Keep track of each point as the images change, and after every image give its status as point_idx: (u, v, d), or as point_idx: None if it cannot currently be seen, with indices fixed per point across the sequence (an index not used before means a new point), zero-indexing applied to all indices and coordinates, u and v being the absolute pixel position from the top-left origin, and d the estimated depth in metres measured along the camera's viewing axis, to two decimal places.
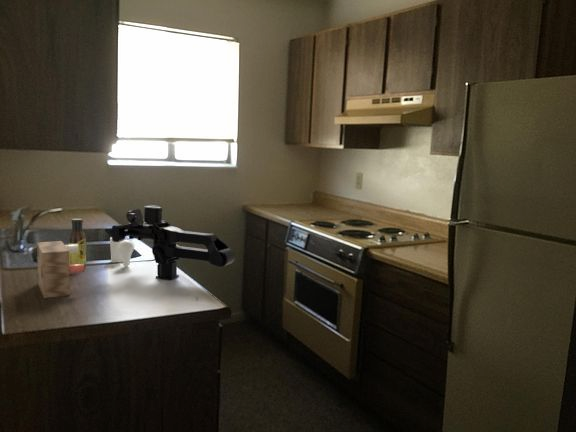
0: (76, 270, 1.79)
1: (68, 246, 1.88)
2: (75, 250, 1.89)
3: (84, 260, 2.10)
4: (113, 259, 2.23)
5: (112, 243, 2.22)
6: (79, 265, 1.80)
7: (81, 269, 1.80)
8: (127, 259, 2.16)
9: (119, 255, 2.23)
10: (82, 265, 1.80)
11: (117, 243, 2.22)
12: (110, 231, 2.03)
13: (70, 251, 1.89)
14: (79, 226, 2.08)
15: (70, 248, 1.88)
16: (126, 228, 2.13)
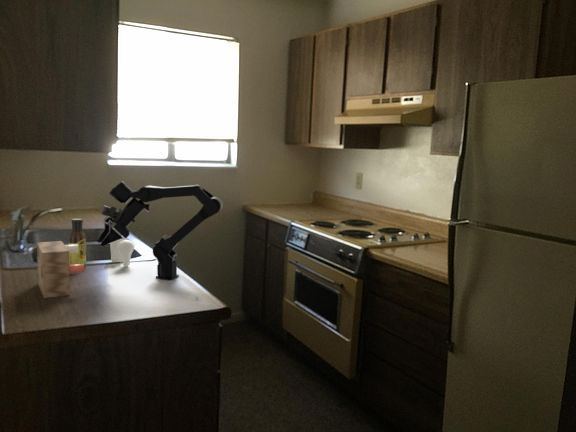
0: (76, 270, 1.79)
1: (68, 246, 1.88)
2: (75, 250, 1.89)
3: (84, 260, 2.10)
4: (113, 259, 2.23)
5: (112, 243, 2.22)
6: (79, 265, 1.80)
7: (81, 269, 1.80)
8: (127, 259, 2.16)
9: (119, 255, 2.23)
10: (82, 265, 1.80)
11: (117, 243, 2.22)
12: (109, 238, 1.92)
13: (70, 251, 1.89)
14: (79, 226, 2.08)
15: (70, 248, 1.88)
16: (104, 237, 1.98)
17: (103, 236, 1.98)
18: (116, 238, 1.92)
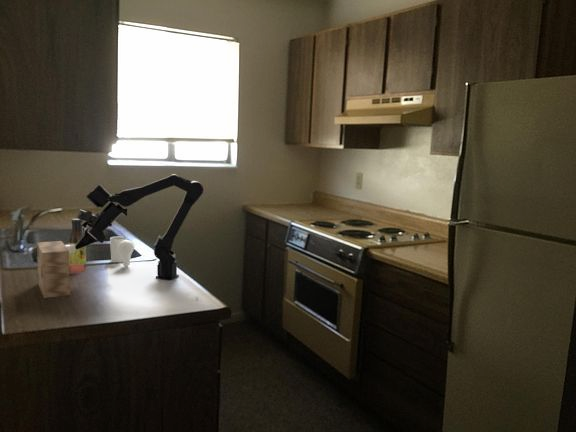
0: (76, 270, 1.79)
1: None
2: (72, 250, 1.89)
3: (84, 260, 2.10)
4: (113, 259, 2.23)
5: (112, 243, 2.22)
6: (79, 265, 1.80)
7: (81, 269, 1.80)
8: (127, 259, 2.16)
9: (119, 255, 2.23)
10: (82, 265, 1.80)
11: (117, 243, 2.22)
12: (83, 241, 1.90)
13: None
14: (79, 226, 2.08)
15: (67, 248, 1.88)
16: None
17: None
18: (91, 241, 1.91)
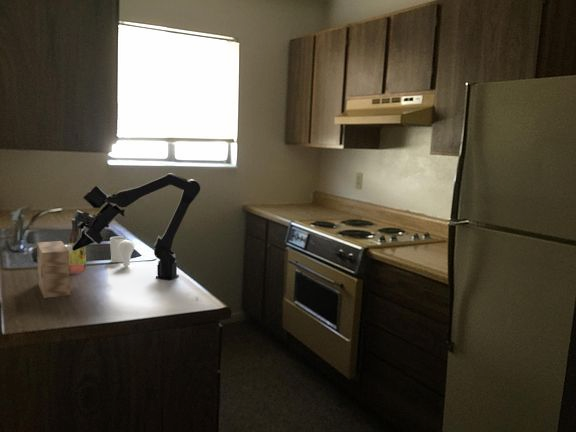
0: (76, 270, 1.79)
1: None
2: (69, 250, 1.88)
3: (84, 260, 2.10)
4: (113, 259, 2.23)
5: (112, 243, 2.22)
6: (79, 265, 1.80)
7: (81, 269, 1.80)
8: (127, 259, 2.16)
9: (119, 255, 2.23)
10: (82, 265, 1.80)
11: (117, 243, 2.22)
12: (80, 243, 1.90)
13: None
14: None
15: None
16: None
17: None
18: (88, 242, 1.90)
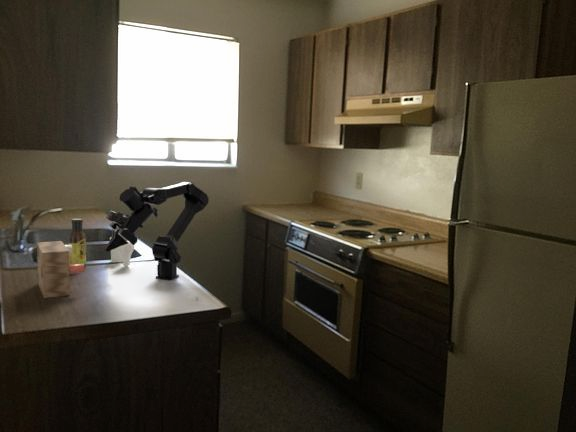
0: (76, 270, 1.79)
1: None
2: (69, 250, 1.88)
3: (84, 260, 2.10)
4: (113, 259, 2.23)
5: None
6: (79, 265, 1.80)
7: (81, 269, 1.80)
8: (127, 259, 2.16)
9: (119, 255, 2.23)
10: (82, 265, 1.80)
11: None
12: (114, 243, 1.84)
13: None
14: (79, 226, 2.08)
15: None
16: None
17: None
18: (121, 243, 1.85)
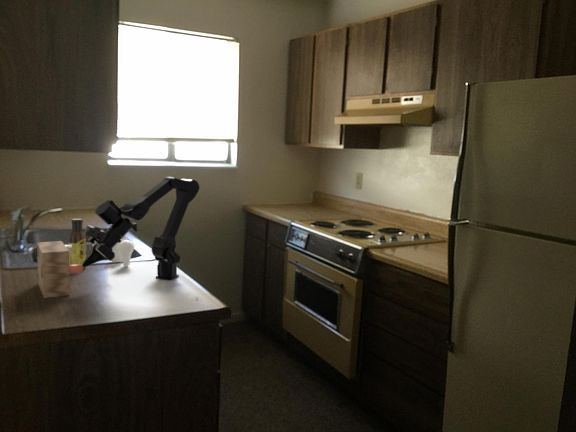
0: (74, 271, 1.79)
1: None
2: (69, 250, 1.88)
3: None
4: (113, 259, 2.23)
5: None
6: (77, 265, 1.79)
7: (79, 270, 1.79)
8: (127, 259, 2.16)
9: (119, 255, 2.23)
10: (80, 265, 1.80)
11: (117, 243, 2.22)
12: (91, 259, 1.81)
13: None
14: (79, 226, 2.08)
15: None
16: None
17: None
18: (99, 258, 1.81)
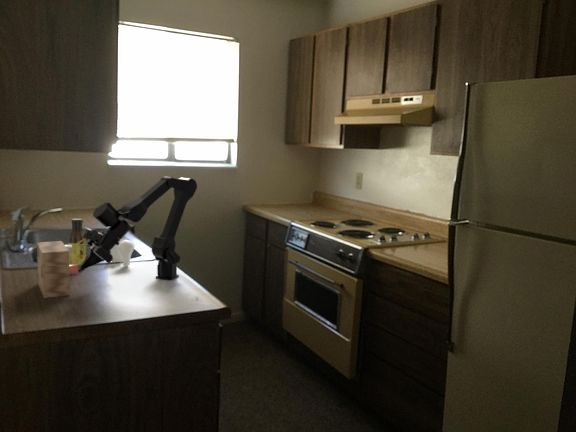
0: (70, 271, 1.78)
1: None
2: (69, 250, 1.88)
3: None
4: (113, 259, 2.23)
5: None
6: (73, 266, 1.79)
7: (75, 270, 1.79)
8: (127, 259, 2.16)
9: (119, 255, 2.23)
10: (76, 266, 1.79)
11: None
12: (89, 261, 1.81)
13: None
14: (79, 226, 2.08)
15: None
16: None
17: None
18: (97, 261, 1.81)
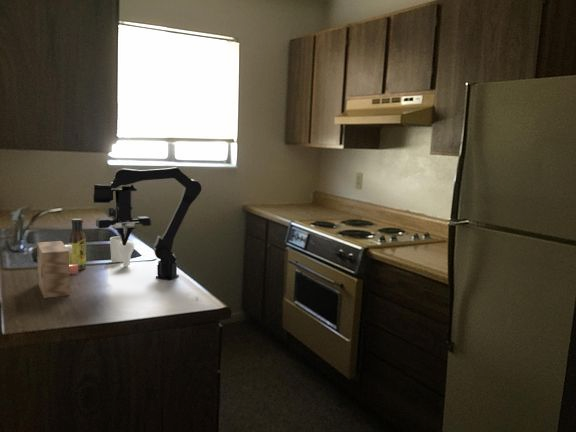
0: (70, 271, 1.78)
1: None
2: (69, 250, 1.88)
3: (84, 260, 2.10)
4: (113, 259, 2.23)
5: (112, 243, 2.22)
6: (73, 266, 1.79)
7: (75, 270, 1.79)
8: (127, 259, 2.16)
9: (119, 255, 2.23)
10: (76, 266, 1.79)
11: (117, 243, 2.22)
12: (120, 235, 1.95)
13: None
14: (79, 226, 2.08)
15: None
16: (124, 238, 1.96)
17: (124, 237, 1.96)
18: None
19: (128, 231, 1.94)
